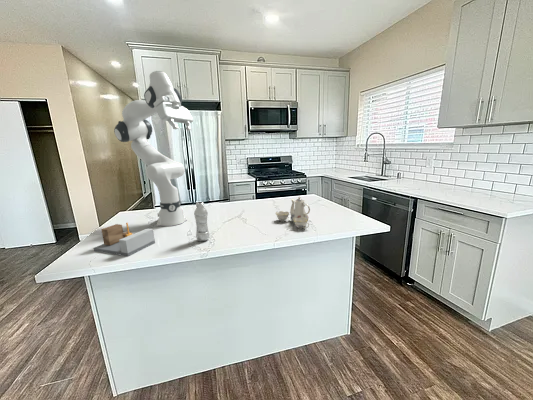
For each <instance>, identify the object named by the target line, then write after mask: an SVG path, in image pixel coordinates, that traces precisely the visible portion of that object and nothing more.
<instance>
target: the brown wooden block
mask: <svg viewBox="0 0 533 400" xmlns="http://www.w3.org/2000/svg"><path fill="white" fill-rule="evenodd" d="M123 229H124V228H123V224H118V223H115V224H113V225H109V226H106V227H103V228H101V235H102V240H103V241H102V242H103V244H104V245H112V244H115V243H117V242H119V240H120V239H122V238H125V234H128V231H124V230H123ZM129 233H132V231H129Z"/></svg>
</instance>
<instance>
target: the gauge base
mask: <svg viewBox="0 0 533 400" xmlns="http://www.w3.org/2000/svg"><path fill="white" fill-rule="evenodd" d="M154 244H156V238H155V232H154V229H153V228H145V229H142V230H139V231H137V232H136V233H132V235H130V236H127V237H125V238H122V239H120V240H119V242H117V243H115V244H112V245H104V243H103V244H100V245H98V246H95V247H93V251H94V252H99V253H105V254H112V255H119V256H124V257H131V256H132V255H135V254H136V253H138V252H140V251H142V250H144V249H146V248H147V247H150V246H152V245H154Z"/></svg>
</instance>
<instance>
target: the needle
mask: <svg viewBox="0 0 533 400" xmlns="http://www.w3.org/2000/svg"><path fill="white" fill-rule="evenodd" d="M125 225H126V230H127V231H126V232H128V234H125V237H127V236H130V235H132V234H133V232H131V233H129V232H130V229H129V222H126V223H125Z"/></svg>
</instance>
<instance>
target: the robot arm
mask: <svg viewBox="0 0 533 400" xmlns="http://www.w3.org/2000/svg"><path fill="white" fill-rule="evenodd" d="M143 96H144V97H143V98H144V99H135V100H132V101H130V102H128V103H127V104H126V105H125V106H124V108H122V112H121V115H122V119H123V120H122V121H121V120H119V121H118V122H117V124H116V125H115V127H114V131H113V132H114V135H115V137H116V138H117V140H118V141H119V142H122V143H128V142H131V141H132V142H131V143H130V145H131V146H130V147H131V150H132V152H134V154H135V155H136V157H138V158H139V159H140V160H141V161H142V162H143V163H144V164H145V165H146V167H145V176H146V178H147V179H148V180H149V181H152V182H153V184H154V185H155V186H156V188H157V190H158V194H159V195H158V196H159V200H160V201H159V207H160V210H159V212H157V214H156V215H157V222H156V226H157V227H159V226H160V227H161V226H164V227H171V226H172V227H173V226H178V225H180V224H183V223H184V222H187V221H188V218H187V217H185V212H184V208H183V207H182V206H181V201H180V196H179V189H178V187H176V185H175V186H174V185H173V184H172V181H171V180H174V179H179V178H181V177H182V176H184V174H185V166H184V164H183V163H182V162H179V161H177V160H174V159H172V158H170V157H168V156H166V155H164V154H162V153H161V152H159V150H158V149H156V148H155V146H153V145H152V144H151V143H150V142H148V140H150V139H151V136H152V135H153V134H152V133H153V127H152V124H151V122H150V121H148V120H147V119H148V118H150V117H152V116H154V115H156V114H157V116H158V117H159V119H161V120H162V121H165V122H168V123H169V125H170V126H171V127H172V129H173V130H178V129H179V126H178V124H176V123H180V124H184V125H185V129H186V131H187V132H188V131H189V132H190V131H192V128H191V124H192V123H193V122H194V118H193V116H192V114H191V112H190V111H189V109H188V108H186V107H185V106H184V105H182V102H183V97H182V94H181V93H180V91H179V90H177V88H175V87H174V86H173V83H172V81H171V80H170V78H169V76H168V75H167V73H166V72H165V71H161V70H154V71H152V72H151V73H150V74H149V85H148V88H146V90H145V91H144V94H143Z"/></svg>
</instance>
